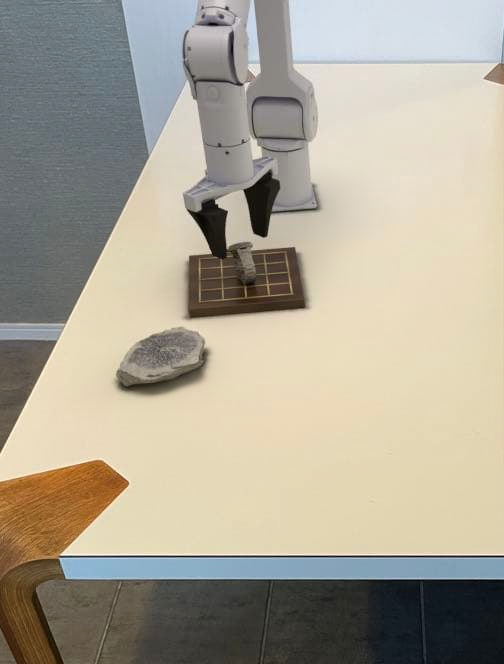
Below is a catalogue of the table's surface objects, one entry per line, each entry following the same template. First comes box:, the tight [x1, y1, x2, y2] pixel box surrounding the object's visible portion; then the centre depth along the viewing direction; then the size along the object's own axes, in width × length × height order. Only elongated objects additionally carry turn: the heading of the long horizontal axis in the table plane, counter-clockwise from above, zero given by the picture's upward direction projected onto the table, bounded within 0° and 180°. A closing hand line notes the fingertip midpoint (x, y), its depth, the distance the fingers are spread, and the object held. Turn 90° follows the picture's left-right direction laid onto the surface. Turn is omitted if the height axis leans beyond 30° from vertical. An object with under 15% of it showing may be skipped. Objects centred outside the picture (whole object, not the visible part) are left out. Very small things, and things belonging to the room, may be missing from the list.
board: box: [187, 246, 306, 318], centre depth 116 cm, size 15×15×1 cm
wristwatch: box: [227, 241, 256, 284], centre depth 113 cm, size 4×6×5 cm, turn 22°
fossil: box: [115, 326, 206, 387], centre depth 101 cm, size 11×4×10 cm
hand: (240, 245), depth 113 cm, fingers open, 7 cm apart
